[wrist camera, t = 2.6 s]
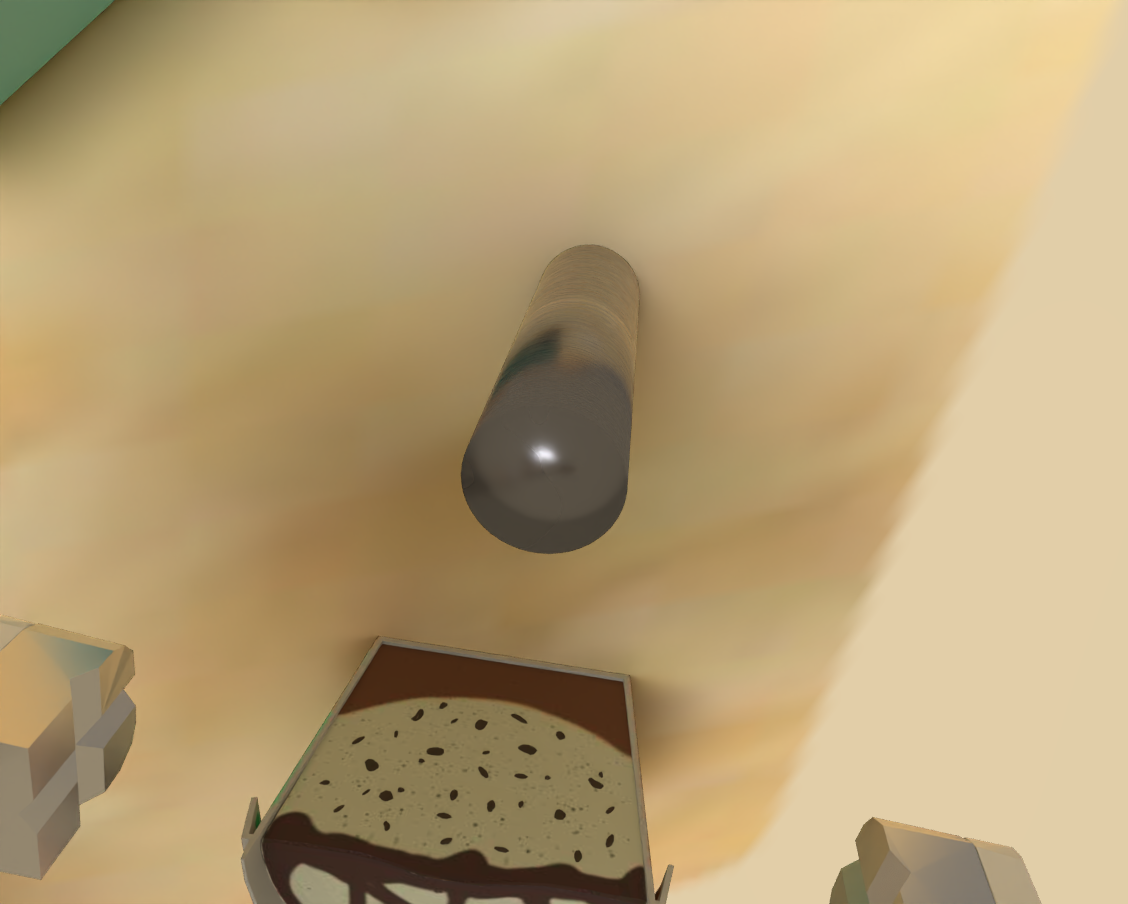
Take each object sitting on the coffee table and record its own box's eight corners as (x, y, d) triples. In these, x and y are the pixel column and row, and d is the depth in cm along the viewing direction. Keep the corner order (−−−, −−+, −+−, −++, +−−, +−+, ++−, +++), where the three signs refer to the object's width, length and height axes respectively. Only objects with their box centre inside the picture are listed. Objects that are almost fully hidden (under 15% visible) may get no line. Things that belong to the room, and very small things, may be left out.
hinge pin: (626, 352, 28) (607, 568, 17) (530, 331, 28) (450, 533, 17) (650, 257, 26) (644, 425, 16) (549, 235, 26) (474, 388, 16)
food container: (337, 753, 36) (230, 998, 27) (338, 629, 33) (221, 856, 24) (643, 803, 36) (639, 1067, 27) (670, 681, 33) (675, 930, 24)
